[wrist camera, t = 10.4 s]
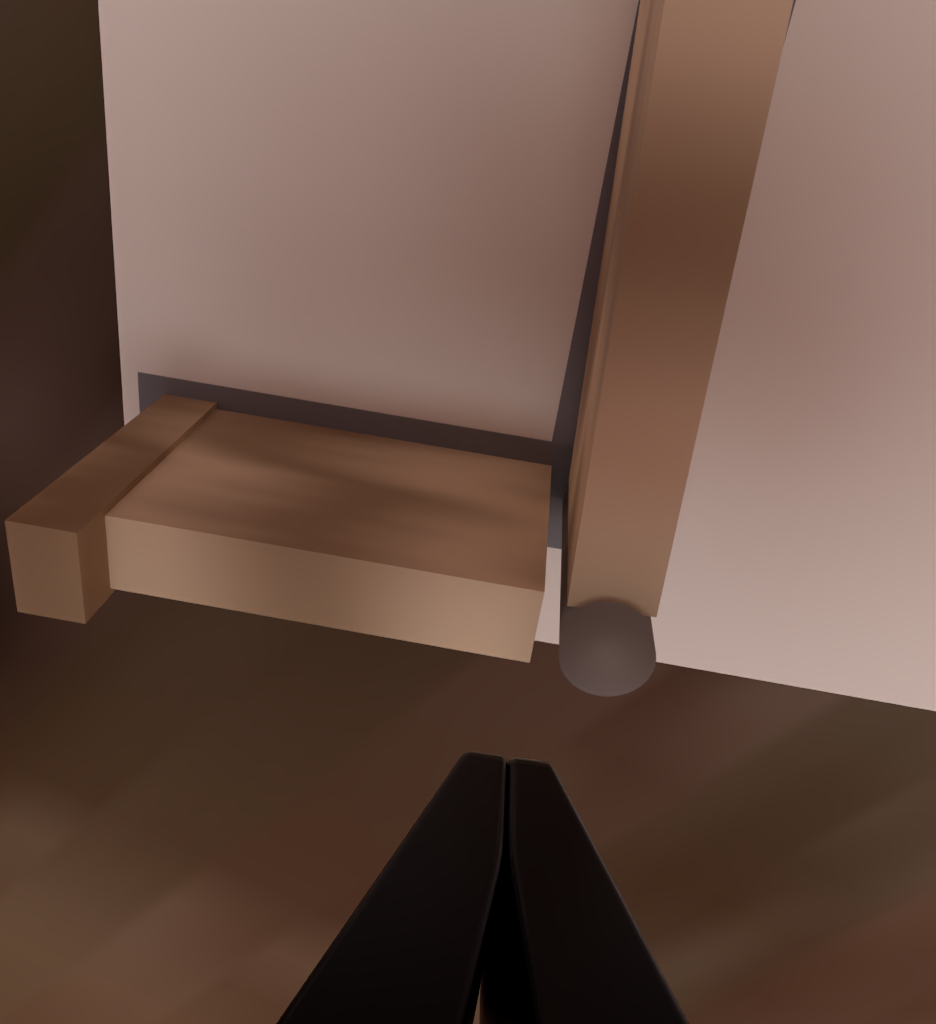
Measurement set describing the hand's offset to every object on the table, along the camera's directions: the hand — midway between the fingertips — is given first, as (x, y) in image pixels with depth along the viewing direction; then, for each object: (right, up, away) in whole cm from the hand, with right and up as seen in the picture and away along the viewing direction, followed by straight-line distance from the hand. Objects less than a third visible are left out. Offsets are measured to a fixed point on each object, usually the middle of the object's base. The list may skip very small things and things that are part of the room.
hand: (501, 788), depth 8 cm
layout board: (+3, +7, +9) cm, 12 cm away
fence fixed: (-3, +4, +11) cm, 12 cm away
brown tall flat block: (+3, +8, +8) cm, 12 cm away
